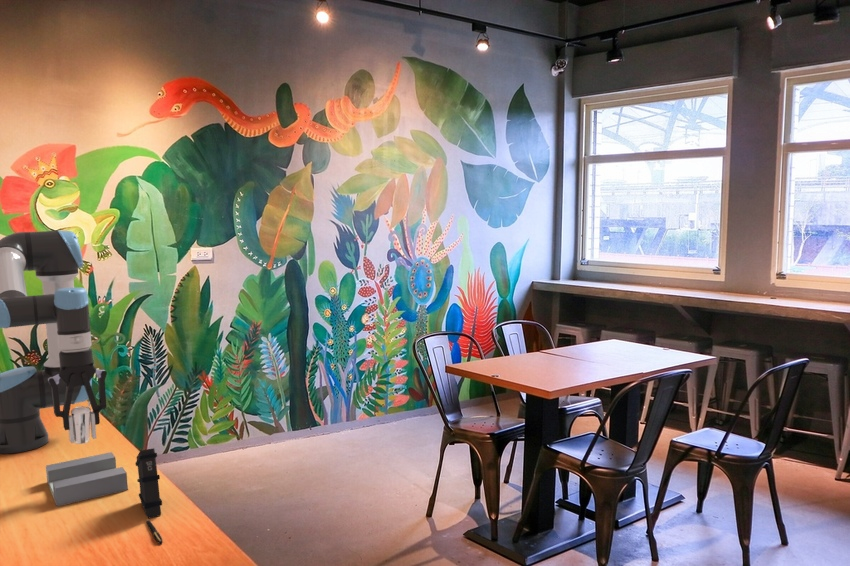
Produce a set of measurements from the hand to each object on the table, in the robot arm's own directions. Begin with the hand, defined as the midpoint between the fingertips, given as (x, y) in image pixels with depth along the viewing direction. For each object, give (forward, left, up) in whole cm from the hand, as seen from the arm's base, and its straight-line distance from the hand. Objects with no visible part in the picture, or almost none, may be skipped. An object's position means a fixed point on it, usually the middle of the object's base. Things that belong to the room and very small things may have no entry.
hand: (83, 439), depth 178 cm
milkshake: (0, 0, -1) cm, 1 cm away
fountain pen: (+38, +8, -13) cm, 41 cm away
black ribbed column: (+24, +10, -13) cm, 29 cm away
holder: (0, 0, -12) cm, 12 cm away
